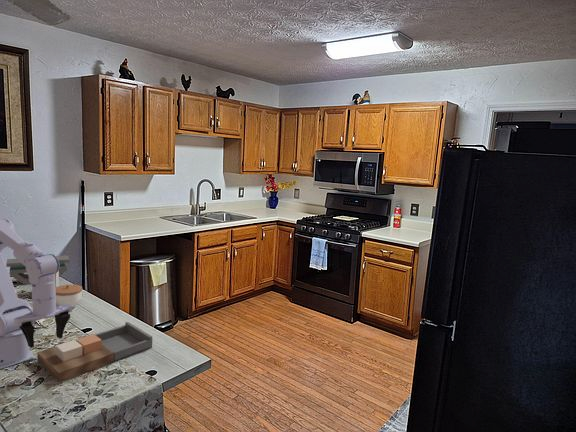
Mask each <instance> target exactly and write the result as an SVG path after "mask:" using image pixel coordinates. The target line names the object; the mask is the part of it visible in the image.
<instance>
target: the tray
mask: <svg viewBox="0 0 576 432" xmlns="http://www.w3.org/2000/svg"><path fill="white" fill-rule="evenodd" d="M94 335H96V336H97V337H99V338H100V339H101V340H102V345H103V346H105V347H106V348H107V349H109V350H110V351H111V352H113V353H114V362H113V363H115V362H117V361H119V360H123V359H126V358H128V357H130V356H134V355H136V354H139V353H141V352H143V351H144V352H145V351H146V350H149V349H152V348H153V336H152V335H151V334H149V333H147V332H145V331H144V330H142V329H141V328H139V327H138V326H136V325H133V323H131V322H129V321H126V322H125V323H124V325H122V326H118V327H115V328H111V329H109V330H105V331H102V332H101V331H100V332H99V333H96V334H95V333H94Z"/></svg>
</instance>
